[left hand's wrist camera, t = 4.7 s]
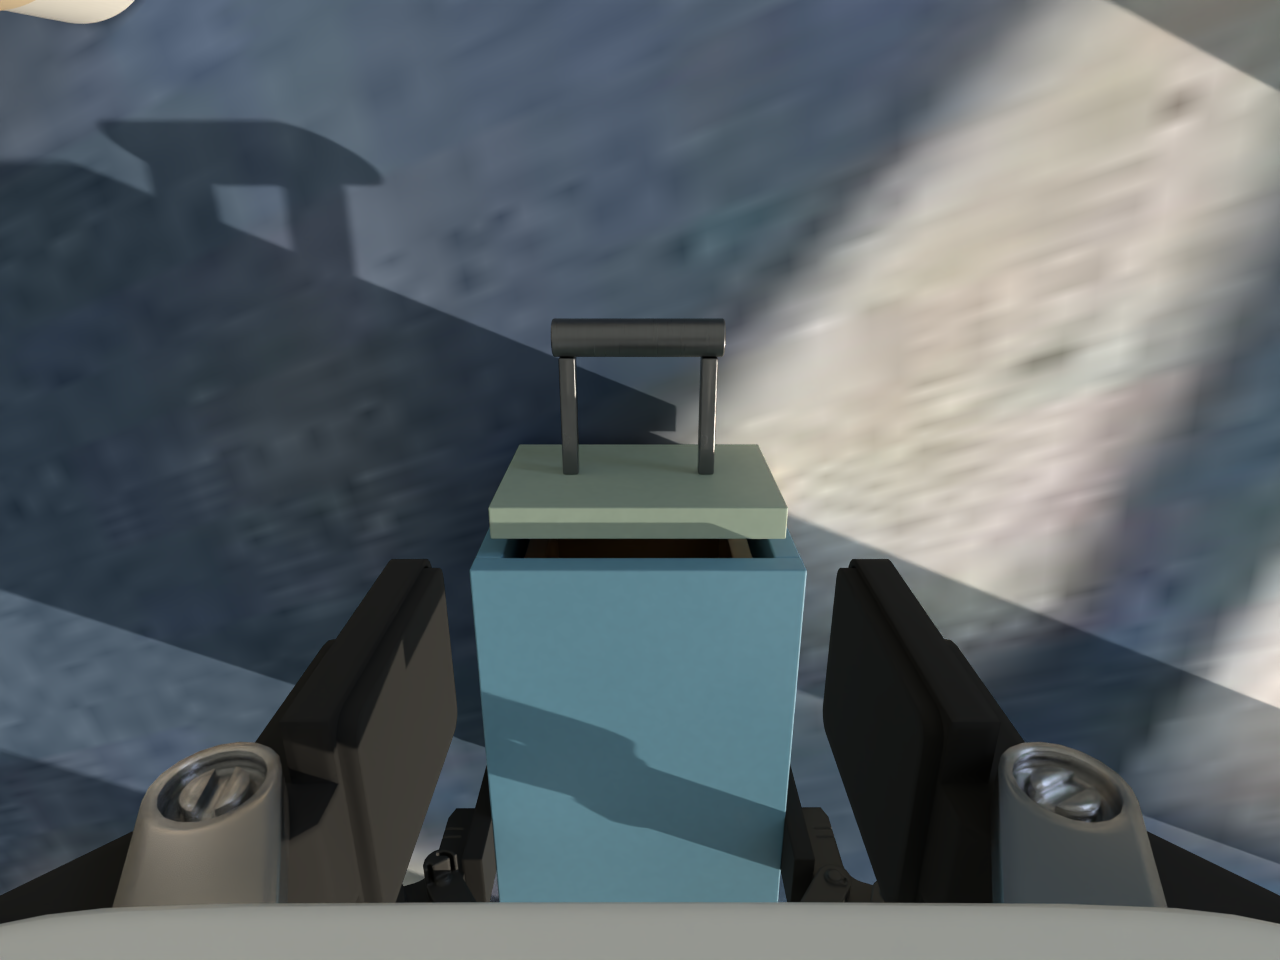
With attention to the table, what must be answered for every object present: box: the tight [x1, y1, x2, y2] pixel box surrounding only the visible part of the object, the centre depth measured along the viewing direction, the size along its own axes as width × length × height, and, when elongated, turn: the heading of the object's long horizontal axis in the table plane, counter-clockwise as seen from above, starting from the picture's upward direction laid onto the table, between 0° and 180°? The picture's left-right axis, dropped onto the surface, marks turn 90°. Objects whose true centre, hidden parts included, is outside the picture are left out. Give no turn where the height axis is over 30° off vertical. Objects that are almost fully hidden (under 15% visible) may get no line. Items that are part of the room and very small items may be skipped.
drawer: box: [488, 319, 788, 558], centre depth 31 cm, size 21×10×7 cm, turn 0°
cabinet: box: [469, 527, 807, 902], centre depth 33 cm, size 16×12×9 cm
